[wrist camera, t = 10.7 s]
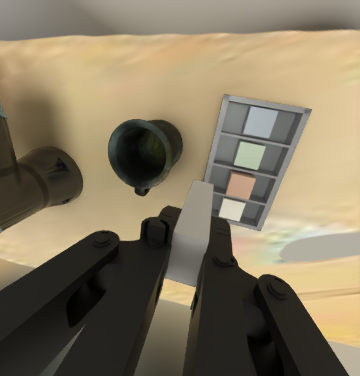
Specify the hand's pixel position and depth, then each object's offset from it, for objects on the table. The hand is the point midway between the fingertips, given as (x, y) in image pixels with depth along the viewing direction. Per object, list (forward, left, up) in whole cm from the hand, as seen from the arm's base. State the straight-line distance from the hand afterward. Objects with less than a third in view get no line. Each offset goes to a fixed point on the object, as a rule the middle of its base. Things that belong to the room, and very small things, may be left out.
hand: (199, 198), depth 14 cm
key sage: (+7, 0, -25) cm, 26 cm away
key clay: (+7, -6, -24) cm, 25 cm away
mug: (-11, -4, -27) cm, 29 cm away
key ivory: (+7, -12, -25) cm, 28 cm away
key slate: (+7, +6, -25) cm, 26 cm away
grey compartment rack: (+7, -3, -26) cm, 27 cm away
